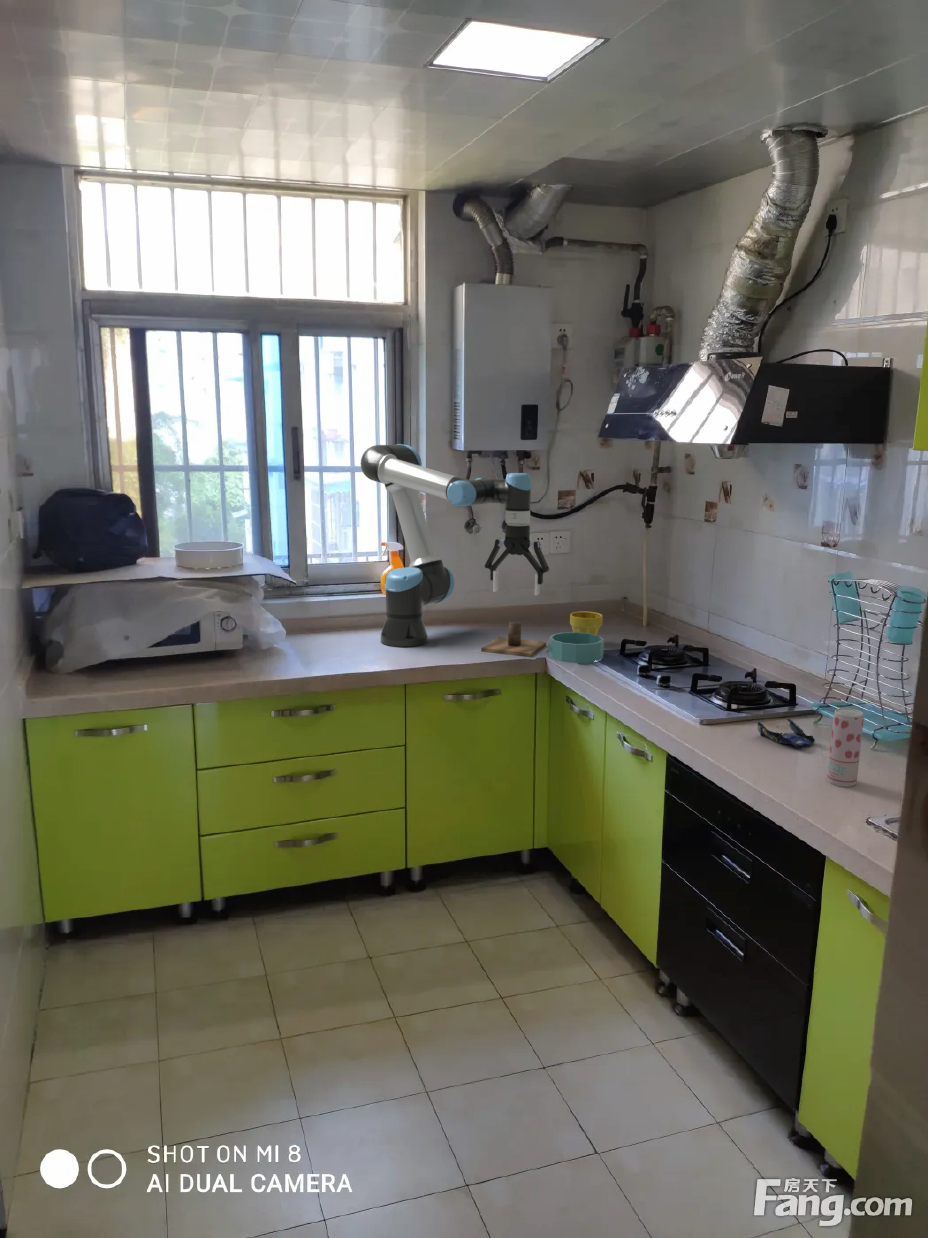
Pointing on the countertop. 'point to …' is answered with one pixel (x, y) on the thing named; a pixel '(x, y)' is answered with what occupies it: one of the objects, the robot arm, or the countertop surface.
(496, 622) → the countertop surface
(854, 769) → the beverage can
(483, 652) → the mat
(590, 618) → the plant pot
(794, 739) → the snack package
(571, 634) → the bowl
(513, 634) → the lid
